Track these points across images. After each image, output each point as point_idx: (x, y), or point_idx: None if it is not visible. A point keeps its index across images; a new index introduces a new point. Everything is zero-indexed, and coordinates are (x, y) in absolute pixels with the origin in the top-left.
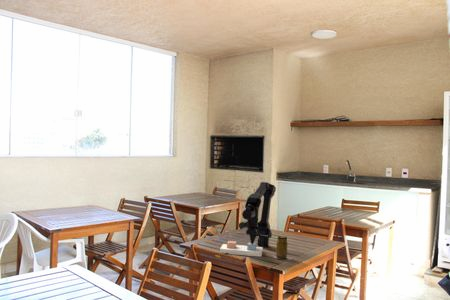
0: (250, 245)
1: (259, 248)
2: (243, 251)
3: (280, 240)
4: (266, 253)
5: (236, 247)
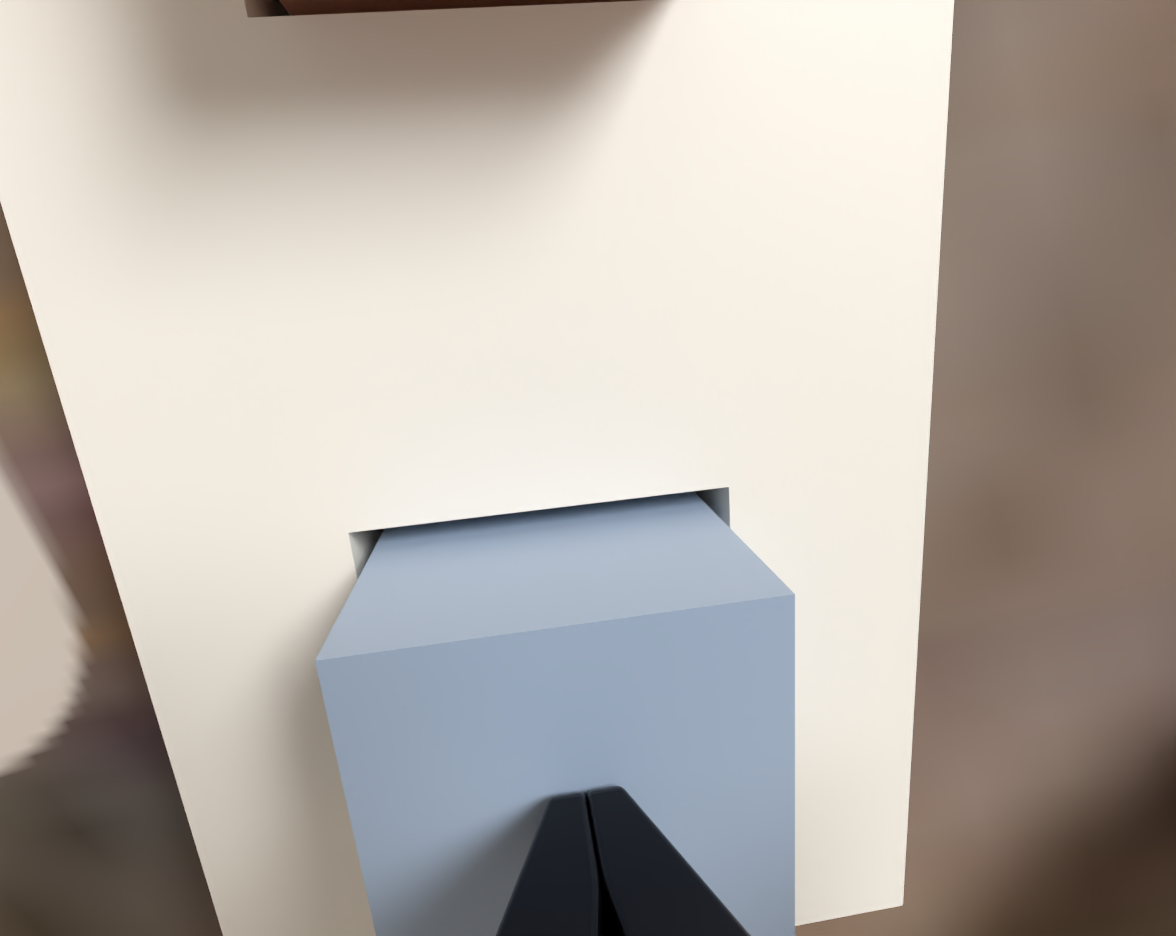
0: (357, 779)
1: None
2: (99, 450)
3: None
4: None
5: (497, 17)
